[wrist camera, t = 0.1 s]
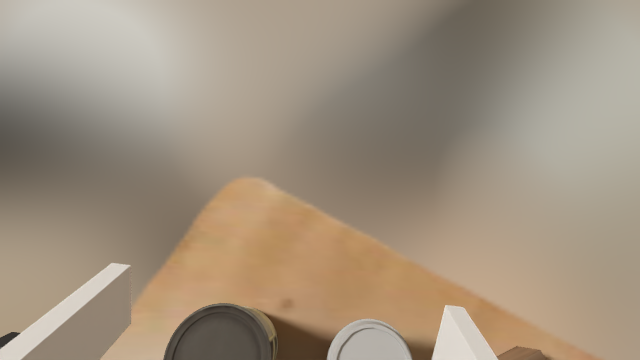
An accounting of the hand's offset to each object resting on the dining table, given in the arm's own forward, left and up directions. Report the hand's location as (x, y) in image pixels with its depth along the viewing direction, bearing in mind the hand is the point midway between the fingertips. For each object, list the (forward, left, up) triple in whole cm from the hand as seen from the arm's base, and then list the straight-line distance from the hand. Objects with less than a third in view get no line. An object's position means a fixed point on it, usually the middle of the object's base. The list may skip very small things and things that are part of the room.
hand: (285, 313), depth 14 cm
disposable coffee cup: (-8, -6, -36) cm, 37 cm away
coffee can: (-1, +8, -36) cm, 37 cm away
